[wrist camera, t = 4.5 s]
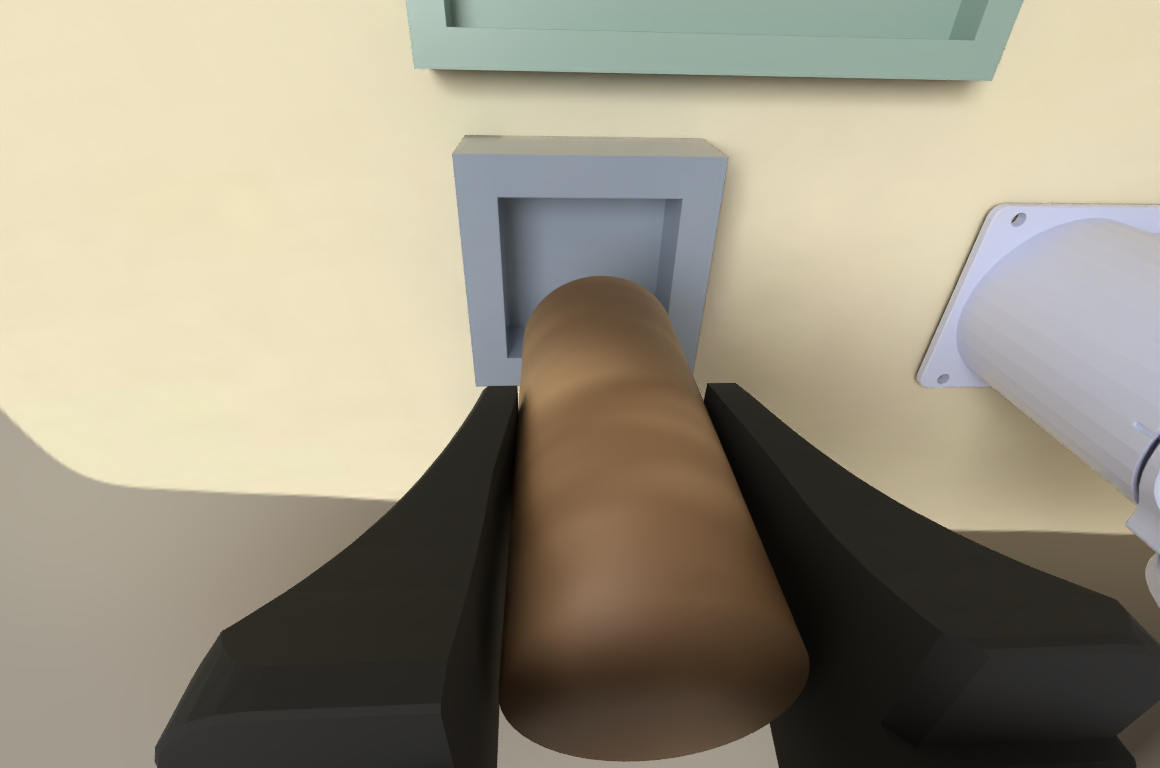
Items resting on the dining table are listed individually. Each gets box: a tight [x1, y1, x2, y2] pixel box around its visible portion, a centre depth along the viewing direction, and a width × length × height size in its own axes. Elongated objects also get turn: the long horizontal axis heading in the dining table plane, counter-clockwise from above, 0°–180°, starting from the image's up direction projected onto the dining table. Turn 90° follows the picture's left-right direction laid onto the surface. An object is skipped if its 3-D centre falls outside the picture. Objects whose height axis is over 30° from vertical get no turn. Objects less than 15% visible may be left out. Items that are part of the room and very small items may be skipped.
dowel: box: [498, 276, 810, 761], centre depth 11 cm, size 4×4×9 cm
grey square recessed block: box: [452, 135, 728, 386], centre depth 19 cm, size 8×8×3 cm
